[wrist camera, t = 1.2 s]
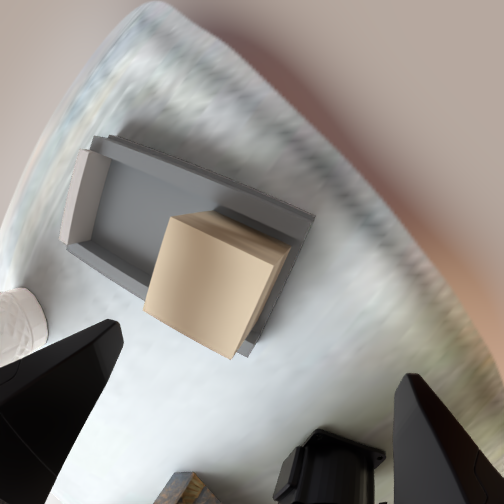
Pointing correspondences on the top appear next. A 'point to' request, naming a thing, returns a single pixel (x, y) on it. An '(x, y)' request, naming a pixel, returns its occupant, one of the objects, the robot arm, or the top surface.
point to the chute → (161, 213)
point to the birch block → (213, 278)
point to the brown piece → (186, 491)
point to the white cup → (20, 325)
